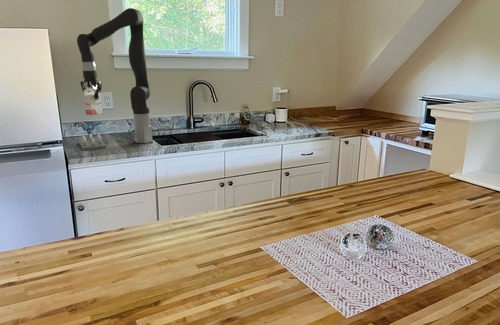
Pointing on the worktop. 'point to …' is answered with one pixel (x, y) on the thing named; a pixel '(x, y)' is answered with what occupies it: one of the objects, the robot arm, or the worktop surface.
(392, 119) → the worktop surface
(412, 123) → the worktop surface
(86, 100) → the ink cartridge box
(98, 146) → the pin tray
